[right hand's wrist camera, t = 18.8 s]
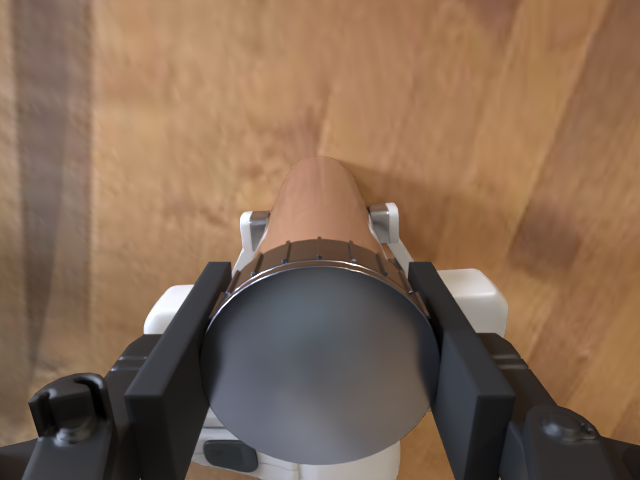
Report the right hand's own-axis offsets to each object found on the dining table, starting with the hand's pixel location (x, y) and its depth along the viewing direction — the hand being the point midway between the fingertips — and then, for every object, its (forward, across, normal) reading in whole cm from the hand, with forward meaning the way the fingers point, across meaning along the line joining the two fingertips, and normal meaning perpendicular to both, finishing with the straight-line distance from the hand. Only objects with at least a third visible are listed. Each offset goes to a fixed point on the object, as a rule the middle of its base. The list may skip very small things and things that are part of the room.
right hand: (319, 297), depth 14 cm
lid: (-4, 0, 0) cm, 4 cm away
